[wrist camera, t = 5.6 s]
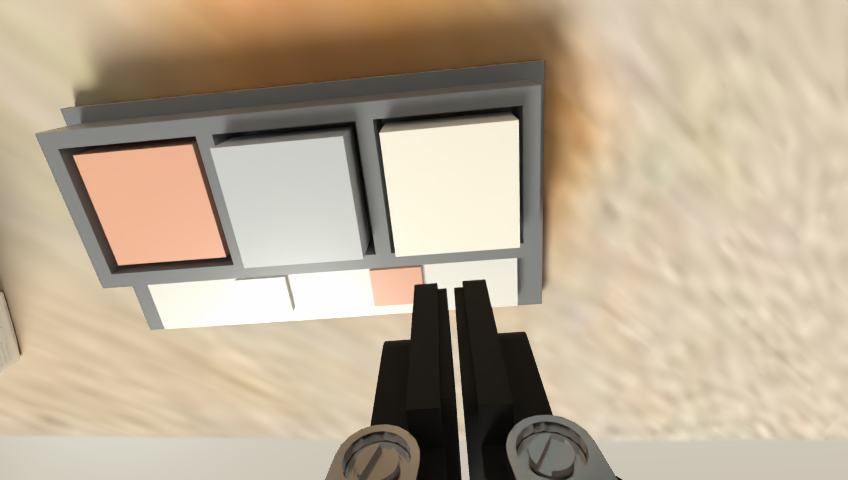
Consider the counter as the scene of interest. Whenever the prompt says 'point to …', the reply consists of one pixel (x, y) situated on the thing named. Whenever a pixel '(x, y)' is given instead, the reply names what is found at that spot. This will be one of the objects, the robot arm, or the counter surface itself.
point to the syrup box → (7, 338)
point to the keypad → (367, 112)
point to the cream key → (453, 183)
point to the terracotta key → (154, 200)
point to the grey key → (294, 196)
